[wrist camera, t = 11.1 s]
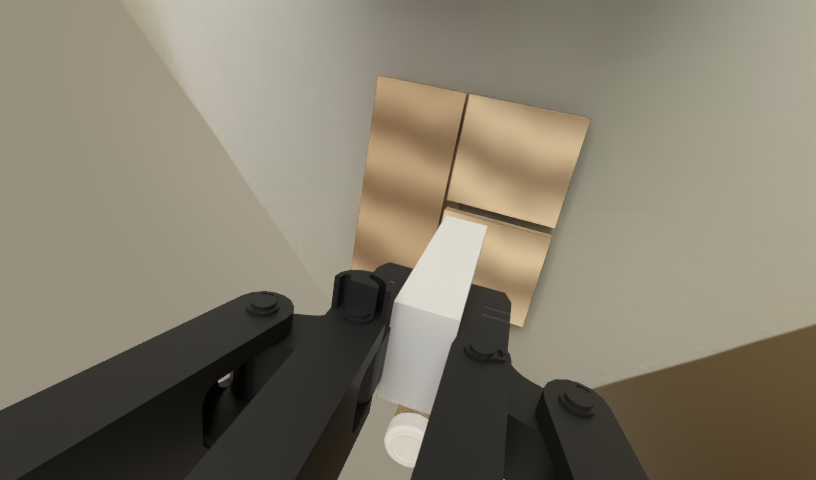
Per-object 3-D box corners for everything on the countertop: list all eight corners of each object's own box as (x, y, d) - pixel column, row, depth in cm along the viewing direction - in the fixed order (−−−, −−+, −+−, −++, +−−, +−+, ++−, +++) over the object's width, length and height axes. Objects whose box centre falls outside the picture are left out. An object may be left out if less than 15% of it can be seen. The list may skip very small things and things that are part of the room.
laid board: (383, 76, 40) (378, 76, 39) (485, 96, 39) (483, 97, 37) (356, 268, 48) (350, 274, 47) (439, 292, 46) (437, 299, 45)
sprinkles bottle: (438, 380, 50) (409, 478, 38) (410, 353, 50) (372, 442, 38) (467, 360, 48) (446, 456, 36) (438, 332, 48) (407, 418, 36)
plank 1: (472, 94, 38) (469, 94, 37) (589, 118, 36) (590, 119, 35) (449, 196, 42) (446, 199, 41) (555, 224, 40) (554, 228, 39)
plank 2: (447, 206, 42) (444, 209, 41) (551, 234, 40) (551, 238, 39) (428, 291, 46) (425, 295, 45) (523, 321, 44) (522, 327, 43)
